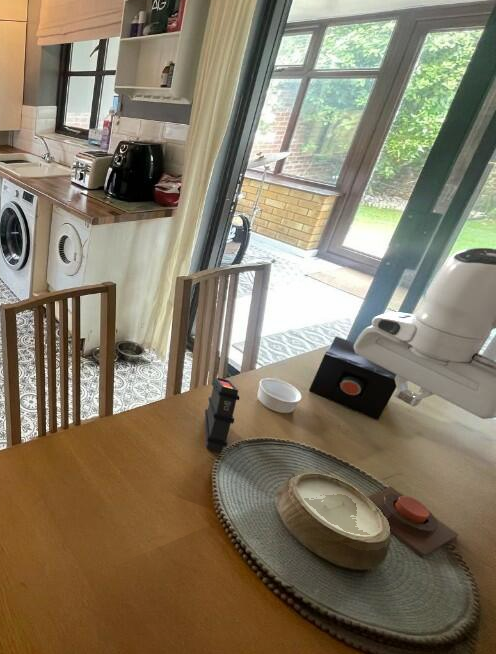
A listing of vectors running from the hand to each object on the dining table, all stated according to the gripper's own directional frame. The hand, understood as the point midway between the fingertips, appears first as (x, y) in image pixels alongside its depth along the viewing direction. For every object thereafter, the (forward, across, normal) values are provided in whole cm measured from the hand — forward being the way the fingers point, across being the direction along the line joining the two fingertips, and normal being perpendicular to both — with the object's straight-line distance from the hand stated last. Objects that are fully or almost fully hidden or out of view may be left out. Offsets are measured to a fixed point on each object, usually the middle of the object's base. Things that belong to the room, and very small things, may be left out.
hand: (405, 400), depth 76 cm
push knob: (+15, +15, -17) cm, 27 cm away
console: (+20, +18, -24) cm, 36 cm away
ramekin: (+20, +22, -3) cm, 30 cm away
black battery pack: (+21, +19, +20) cm, 35 cm away
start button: (+16, -9, +6) cm, 20 cm away
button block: (+20, -10, +6) cm, 23 cm away
